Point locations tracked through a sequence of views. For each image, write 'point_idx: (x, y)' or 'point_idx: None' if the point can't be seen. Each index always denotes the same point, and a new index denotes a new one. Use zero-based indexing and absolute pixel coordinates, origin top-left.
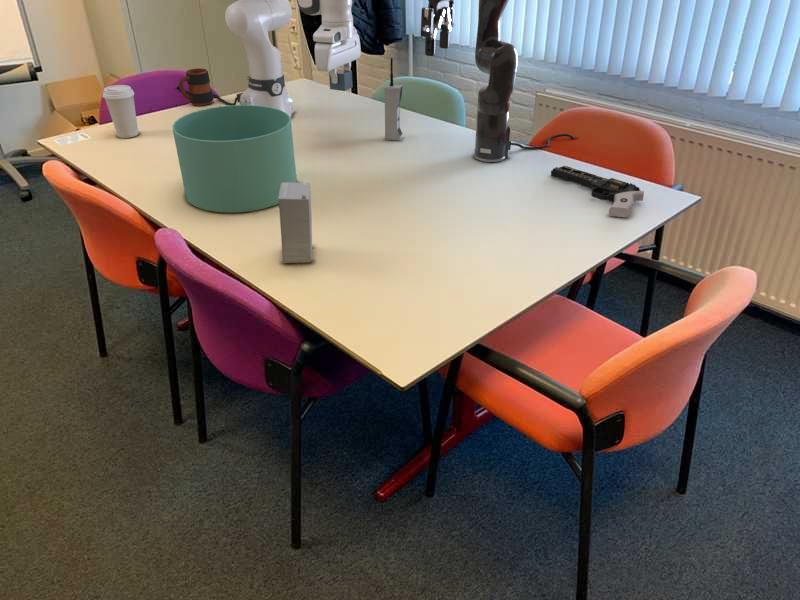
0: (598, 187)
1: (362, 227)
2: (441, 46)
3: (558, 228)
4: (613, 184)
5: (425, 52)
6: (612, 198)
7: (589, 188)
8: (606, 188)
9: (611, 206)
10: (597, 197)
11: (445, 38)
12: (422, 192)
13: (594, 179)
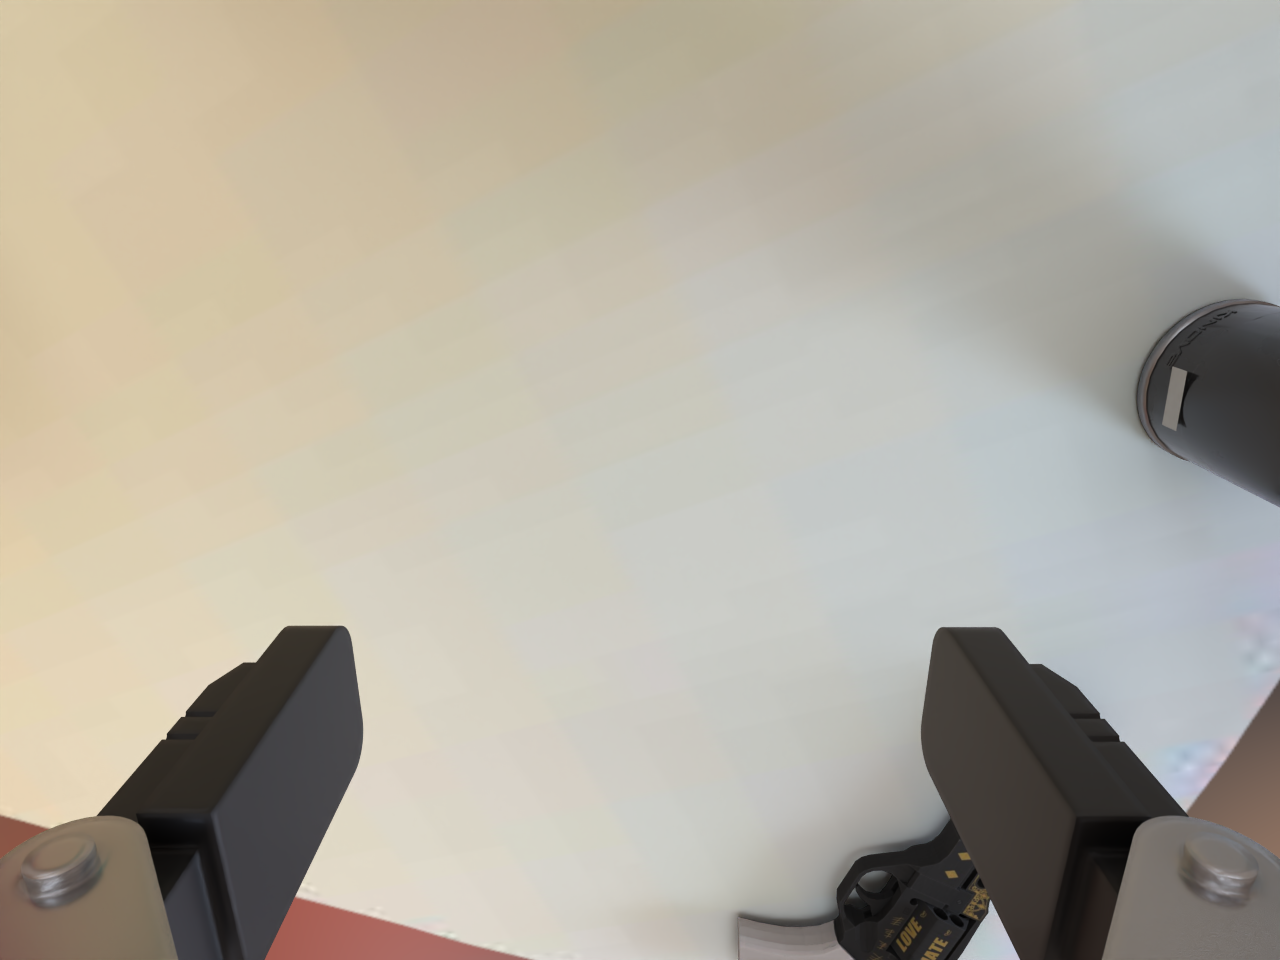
0: (900, 887)
1: (170, 150)
2: (938, 664)
3: (573, 806)
4: (916, 937)
5: (272, 644)
6: (840, 924)
7: (937, 836)
8: (889, 914)
9: (745, 943)
10: (846, 878)
11: (992, 827)
12: (651, 242)
13: (964, 869)
